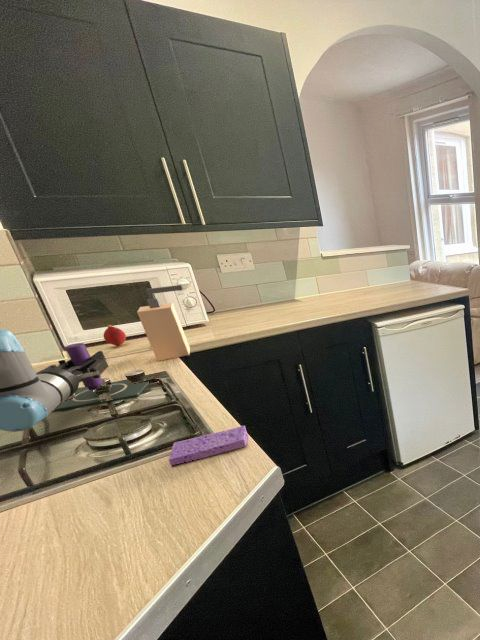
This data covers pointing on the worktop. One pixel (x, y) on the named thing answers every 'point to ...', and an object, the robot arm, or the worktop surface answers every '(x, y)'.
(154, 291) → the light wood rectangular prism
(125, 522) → the worktop surface
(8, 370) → the robot arm
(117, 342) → the red rounded lump
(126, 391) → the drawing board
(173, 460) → the sponge
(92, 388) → the cylinder
